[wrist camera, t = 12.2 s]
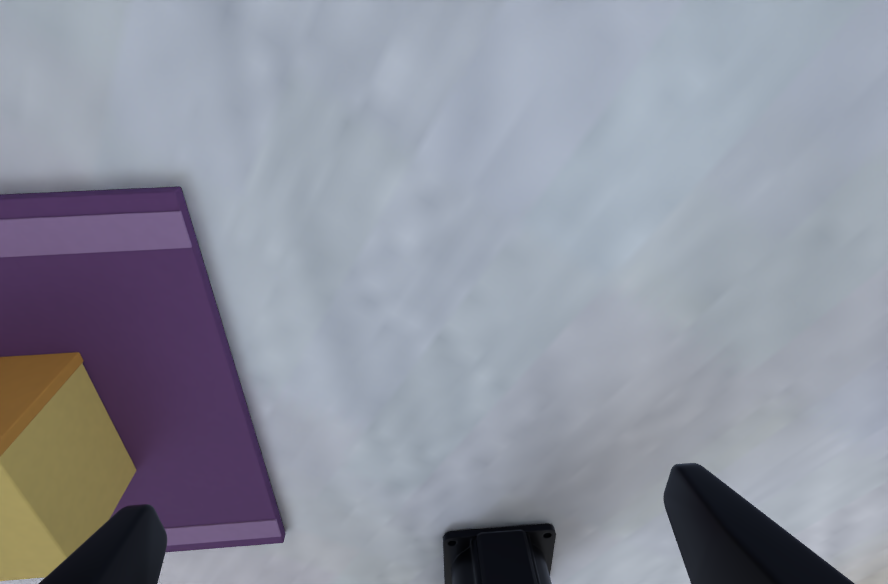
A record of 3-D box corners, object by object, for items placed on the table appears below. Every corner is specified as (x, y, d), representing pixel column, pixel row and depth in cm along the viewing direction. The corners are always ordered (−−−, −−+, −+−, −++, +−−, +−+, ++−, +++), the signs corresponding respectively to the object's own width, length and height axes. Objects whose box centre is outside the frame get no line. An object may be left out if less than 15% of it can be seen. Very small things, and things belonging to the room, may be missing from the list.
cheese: (139, 469, 24) (79, 576, 19) (36, 476, 23) (-48, 587, 19) (79, 351, 20) (-11, 450, 16) (-42, 358, 20) (-168, 461, 15)
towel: (286, 533, 28) (283, 544, 27) (-13, 557, 27) (-22, 569, 26) (181, 186, 18) (174, 192, 17) (-304, 207, 17) (-330, 215, 16)
